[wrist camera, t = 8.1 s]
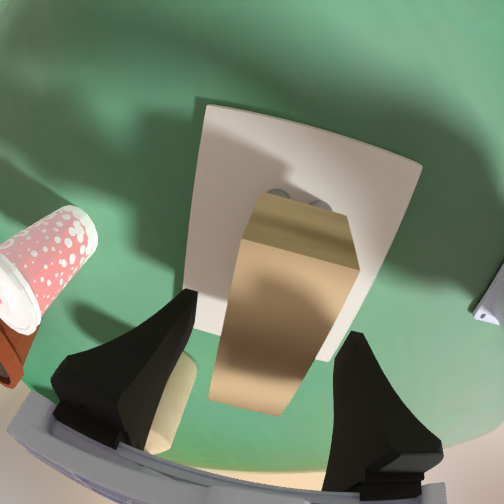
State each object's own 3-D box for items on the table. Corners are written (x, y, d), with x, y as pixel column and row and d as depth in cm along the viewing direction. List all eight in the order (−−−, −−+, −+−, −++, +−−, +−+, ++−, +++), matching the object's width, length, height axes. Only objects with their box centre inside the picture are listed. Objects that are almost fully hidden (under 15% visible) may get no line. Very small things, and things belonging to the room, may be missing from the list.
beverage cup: (98, 197, 20) (-50, 323, 8) (112, 268, 23) (7, 403, 11) (43, 194, 21) (-85, 293, 9) (59, 258, 24) (-42, 366, 12)
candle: (137, 339, 27) (90, 424, 18) (189, 344, 26) (149, 442, 17) (156, 375, 30) (120, 454, 21) (204, 381, 29) (174, 469, 20)
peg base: (417, 162, 15) (444, 183, 12) (328, 352, 24) (328, 392, 20) (212, 104, 16) (186, 109, 12) (184, 315, 24) (166, 351, 21)
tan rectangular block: (261, 191, 14) (241, 238, 10) (346, 215, 14) (360, 270, 10) (226, 340, 19) (207, 398, 15) (287, 356, 19) (280, 416, 15)
